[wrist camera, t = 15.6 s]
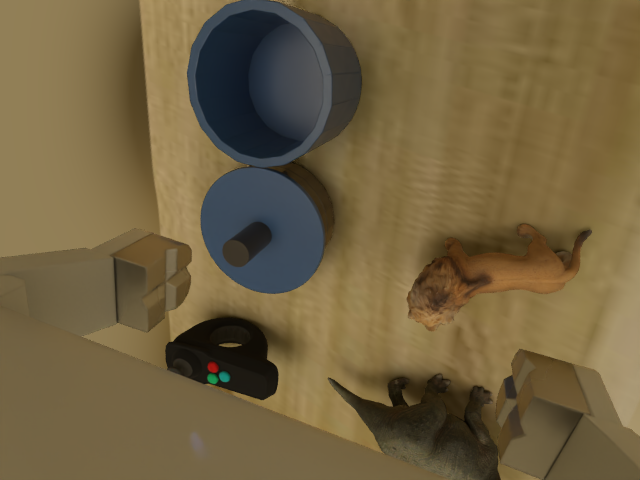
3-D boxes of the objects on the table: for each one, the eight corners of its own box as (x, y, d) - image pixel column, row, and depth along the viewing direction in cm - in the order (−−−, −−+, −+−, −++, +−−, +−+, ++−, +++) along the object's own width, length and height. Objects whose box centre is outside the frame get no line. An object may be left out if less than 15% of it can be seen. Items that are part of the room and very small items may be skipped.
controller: (203, 301, 50) (148, 351, 42) (301, 330, 48) (264, 390, 39) (203, 331, 52) (150, 385, 43) (298, 360, 49) (261, 424, 40)
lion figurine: (426, 296, 41) (416, 351, 33) (406, 247, 40) (392, 293, 32) (597, 255, 35) (635, 310, 27) (580, 196, 34) (615, 237, 26)
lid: (210, 150, 38) (171, 163, 33) (338, 183, 35) (317, 203, 30) (204, 267, 43) (169, 294, 38) (315, 303, 40) (294, 337, 35)
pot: (249, 4, 36) (189, -14, 29) (375, 25, 34) (347, 13, 26) (238, 132, 41) (184, 148, 33) (348, 158, 39) (318, 183, 31)
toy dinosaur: (332, 362, 48) (297, 439, 38) (371, 311, 44) (343, 383, 34) (500, 476, 47) (509, 587, 37) (556, 434, 43) (583, 546, 33)
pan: (238, 147, 42) (211, 157, 37) (345, 174, 39) (329, 188, 35) (230, 246, 46) (205, 266, 42) (325, 276, 44) (309, 299, 40)
